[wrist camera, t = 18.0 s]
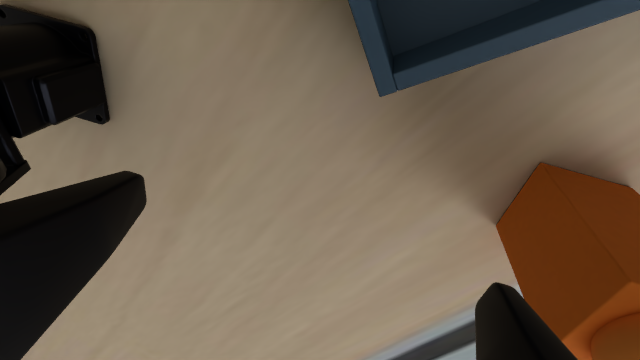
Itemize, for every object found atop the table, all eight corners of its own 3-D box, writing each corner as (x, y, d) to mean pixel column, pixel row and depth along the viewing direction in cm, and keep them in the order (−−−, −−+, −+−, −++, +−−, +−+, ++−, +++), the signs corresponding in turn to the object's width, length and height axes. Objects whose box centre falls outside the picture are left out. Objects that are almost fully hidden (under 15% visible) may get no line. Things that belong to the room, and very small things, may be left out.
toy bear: (495, 225, 22) (580, 447, 12) (539, 161, 19) (705, 380, 9) (574, 249, 22) (734, 496, 11) (632, 187, 19) (917, 445, 8)
